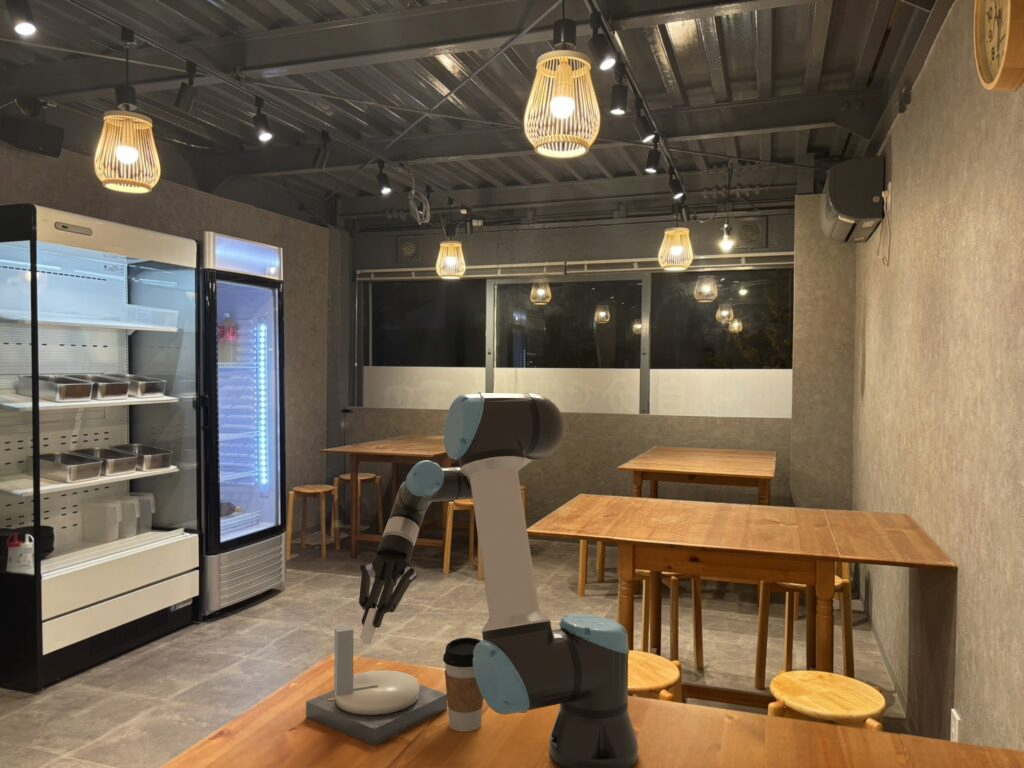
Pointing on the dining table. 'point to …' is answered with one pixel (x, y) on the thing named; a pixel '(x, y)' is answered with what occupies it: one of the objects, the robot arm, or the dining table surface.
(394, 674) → the dial
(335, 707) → the dial housing
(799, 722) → the dining table surface
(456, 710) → the coffee cup
